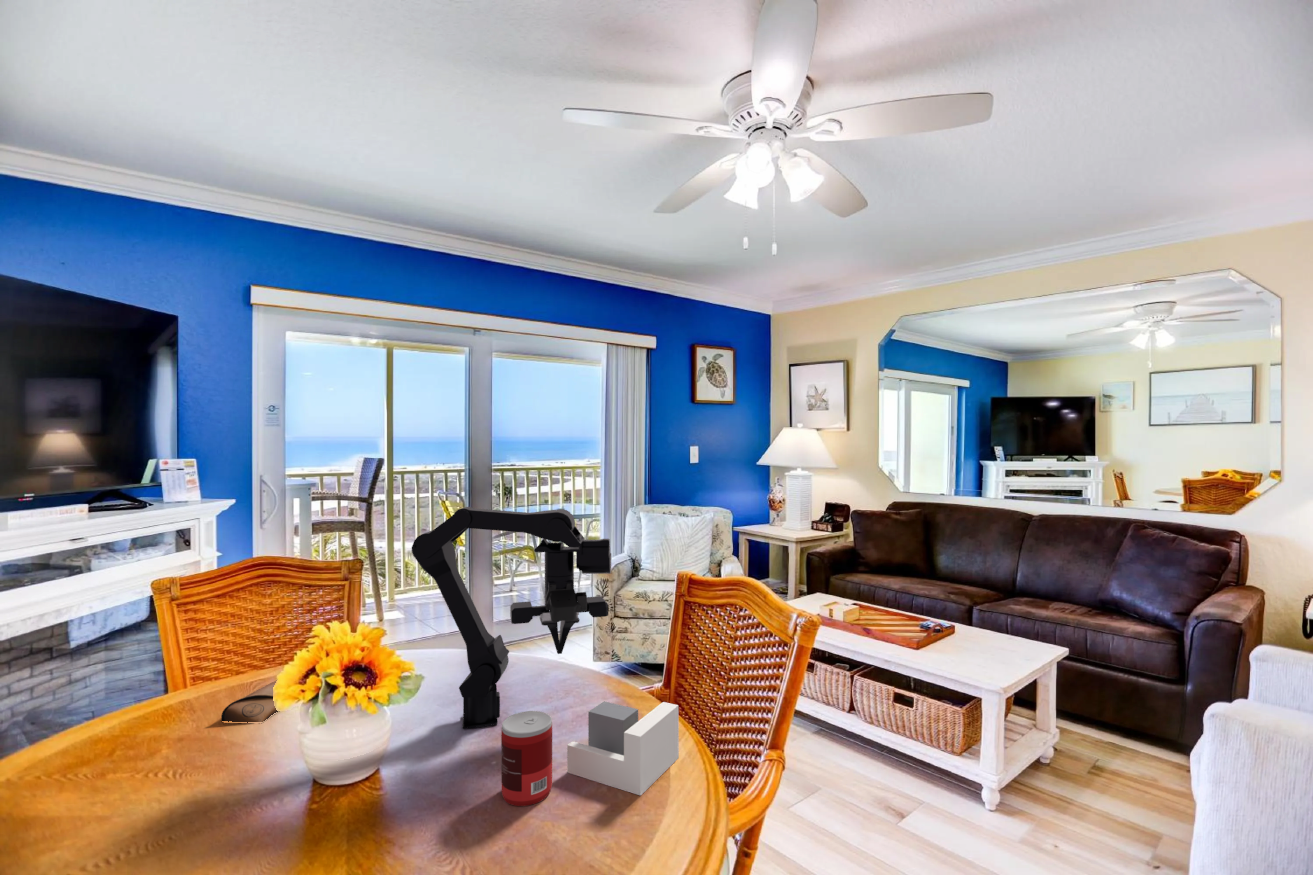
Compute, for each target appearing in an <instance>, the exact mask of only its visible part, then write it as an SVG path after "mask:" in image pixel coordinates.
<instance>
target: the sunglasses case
mask: <svg viewBox="0 0 1313 875" xmlns="http://www.w3.org/2000/svg"><path fill="white" fill-rule="evenodd" d="M277 680H278V679H276V680H275V681H273V682H270V683H269V684H266V685H264V686H262V687H260V688H258V689H256V690H255V691H253V692H251V693H249V694H248V695H246V696H244V697H241V698H238V699H236V700H234V701H233V702H230V704H228V705H227V706H226V707H225V708H224V709H223V711H222V713H221V722H222V721H228V722H229V721H232V722H247V723H248V722H263V721H265V720H266V719H267V720H269V719H270V718H271V717H272V716H271V715H273V714H274V713H276V712H277V713H279V712H278V711H277V710H276V708H275V706H274V701H273V687H274V685H275V683H276V681H277ZM277 713H276V714H277ZM274 715H275V714H274ZM274 715H273V716H274ZM270 716H271V717H270ZM269 717H270V718H269ZM268 718H269V719H268ZM267 720H266V721H267ZM266 721H265V722H266ZM263 723H264V722H263Z"/></svg>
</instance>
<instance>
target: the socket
mask: <svg viewBox="0 0 1313 875" xmlns="http://www.w3.org/2000/svg"><path fill="white" fill-rule="evenodd" d="M679 729H680V728H679V705H678V704H674V703H669V702H666V701H663V702H661V703H660V704H659V705H657V706H656V707H654V708H653V709H652V710H651V711H650V712H648V713H647V714H645V715H644V716H643V717H642V718H640V719H638V722H637V723H635V724H634V725H633V726H631V727H630V728H629V729H628V730H626V731H625V732H624V756H623V755H620V754H616V753H613V752H609V751H606V750H602V749H599V748H595V747H592V746H588V744H584V743H581V742H577V741H573V740H572V741H571V742H569V743H568V744H567V745H566V746H567V748H566V749H567V752H566V754H567V757H566V758H567V759H566V760H567V765H566V766H567V769H566V770H567V771H566V772H567V773H568V774H571V775H574V776H577V777H581V778H584V779H586V780H590V781H592V782H595V783H600V784H602V785H606V786H609V787H612V788H615V789H619V790H622V791H625V792H628V793H632V794H634V795H638V796H640V797H641V796H642V795H643V794H644V793H645V792H646V791H647V790H648V789H649V788H650V787H651V786H652V785H653V784H654V783H655V782H656V781H657V780H658V779H659V778H660V777H661V776H662V775H663V774H664V773H665V772H666V771H667V770H668V769H669V768H671V766H672V765H673V764H674V763H675V762H676V761H677V760H678V759H679V754H680V753H679V752H680V751H679V746H680V745H679V742H680V739H679V737H680V736H679Z"/></svg>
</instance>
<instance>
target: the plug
mask: <svg viewBox="0 0 1313 875" xmlns="http://www.w3.org/2000/svg"><path fill="white" fill-rule="evenodd" d="M587 712H588V714H587V715H588V718H587V719H588V720H587V721H588V724H587V725H588V727H587V728H588V729H587V731H588V732H587V733H588V735H587V736H588V739H587V740H588V741H587V742H588V744H587V745H588V746H592V747H595V748H599V749H602V750H606V751H609V752H613V753H616V754H620V755H623V756H624V732H625V731H626V730H628V729H629V728H630V727H631V726H633V725H634V724H635V723H637V722H638V721H639V709H638V708H634V707H629V706H626V705H621V704H617V703H612V702H610V701H602V702H600V703H599V704H598V705H596V706H594V707H593V708H592V709H590V710H589V711H587Z"/></svg>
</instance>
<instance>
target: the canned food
mask: <svg viewBox="0 0 1313 875" xmlns="http://www.w3.org/2000/svg"><path fill="white" fill-rule="evenodd" d="M500 731H501V734H500V737H501V739H500V741H501V742H500V743H501V744H500V747H501V750H500V751H501V752H500V754H501V755H500V756H501V758H500V759H501V768H500V770H501V776H500V777H501V795H502V797H503V800H504V802H506V803H507V804H508V805H511V806H515V807H526V806H527V807H528V806H533V805H535V804H538V803H540V802H542V801H543V800H545V799H546V798H547V797H548V796H549V795H550V793H551V791H552V787H553V718H552V716H551V715H550V714H548V713H547V712H543V711H538V710H526V711H521V712H517V713H514V714H512V715H509V716H508V717H506V718H505V719H504V720H503V721H502V723H501V730H500ZM532 804H533V805H532Z"/></svg>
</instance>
